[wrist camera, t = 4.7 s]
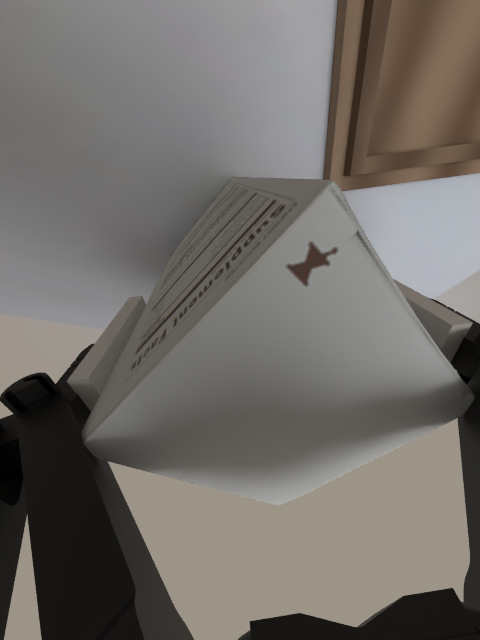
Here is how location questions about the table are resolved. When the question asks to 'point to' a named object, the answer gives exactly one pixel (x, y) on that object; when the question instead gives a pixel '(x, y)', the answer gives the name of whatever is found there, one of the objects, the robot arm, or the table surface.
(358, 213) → the table surface
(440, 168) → the walnut tray
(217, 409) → the supplement box
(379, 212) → the table surface
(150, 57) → the table surface
